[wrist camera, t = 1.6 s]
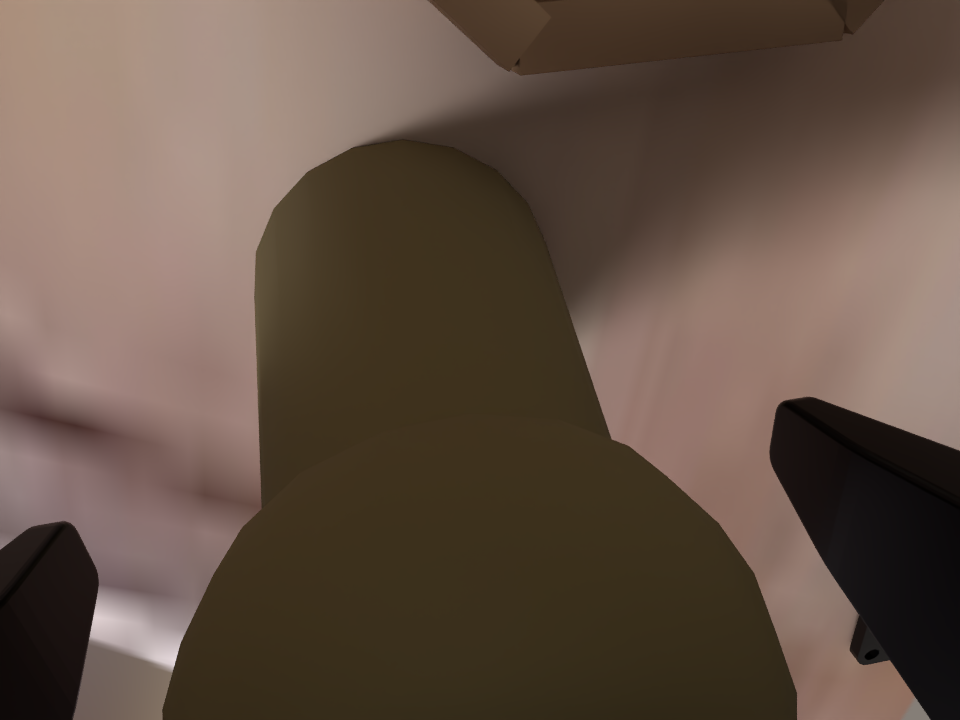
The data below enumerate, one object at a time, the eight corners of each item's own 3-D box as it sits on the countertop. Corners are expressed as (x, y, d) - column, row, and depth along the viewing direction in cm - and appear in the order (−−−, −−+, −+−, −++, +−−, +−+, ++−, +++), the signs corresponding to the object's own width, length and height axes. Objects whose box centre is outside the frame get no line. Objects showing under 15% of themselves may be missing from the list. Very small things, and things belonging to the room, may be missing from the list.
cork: (197, 330, 14) (-147, 1119, 4) (362, 69, 12) (414, 422, 2) (439, 453, 16) (566, 1125, 7) (606, 253, 14) (1105, 785, 5)
